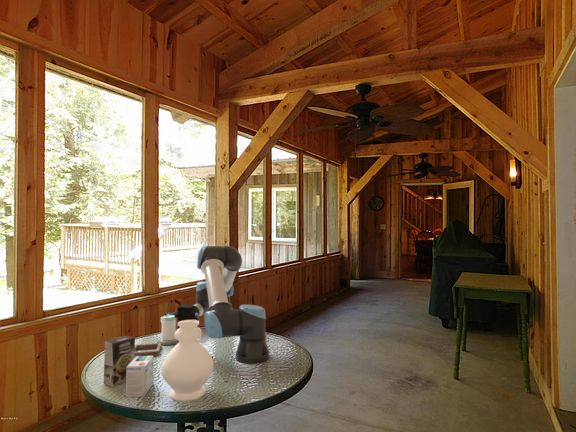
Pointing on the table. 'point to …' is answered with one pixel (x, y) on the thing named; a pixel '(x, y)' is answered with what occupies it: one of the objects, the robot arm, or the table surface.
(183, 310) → the portable radio
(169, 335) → the can
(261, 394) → the table surface
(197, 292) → the robot arm
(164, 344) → the dock pad
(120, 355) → the coffee box
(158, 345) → the frame
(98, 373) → the table surface
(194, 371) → the decorative vase
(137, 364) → the light bulb box
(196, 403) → the table surface
